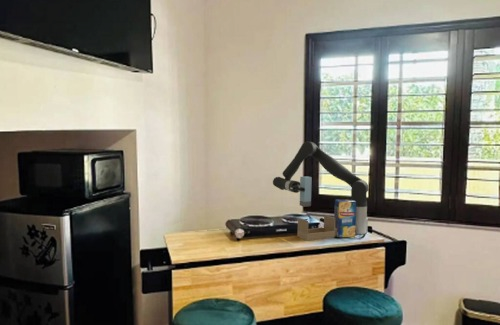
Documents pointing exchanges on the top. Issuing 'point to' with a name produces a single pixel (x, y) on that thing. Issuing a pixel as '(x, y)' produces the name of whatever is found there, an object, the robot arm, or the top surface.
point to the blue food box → (345, 218)
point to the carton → (316, 229)
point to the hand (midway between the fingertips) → (308, 189)
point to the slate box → (305, 196)
